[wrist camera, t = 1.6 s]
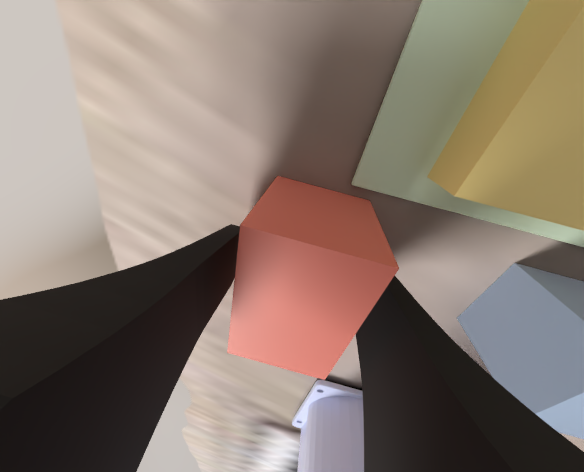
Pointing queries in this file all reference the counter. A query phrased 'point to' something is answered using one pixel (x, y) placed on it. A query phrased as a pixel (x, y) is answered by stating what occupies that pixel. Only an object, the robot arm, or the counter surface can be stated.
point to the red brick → (306, 276)
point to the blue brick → (534, 342)
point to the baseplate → (441, 108)
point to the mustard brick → (526, 122)
